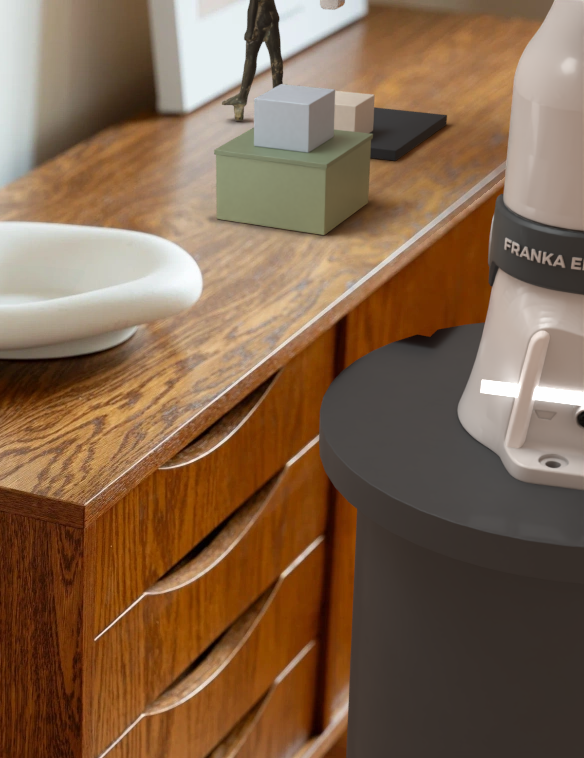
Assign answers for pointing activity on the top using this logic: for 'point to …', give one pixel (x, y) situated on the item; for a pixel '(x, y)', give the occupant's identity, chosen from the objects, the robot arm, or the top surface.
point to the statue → (258, 31)
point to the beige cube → (354, 112)
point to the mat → (401, 131)
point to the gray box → (294, 118)
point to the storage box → (293, 182)
